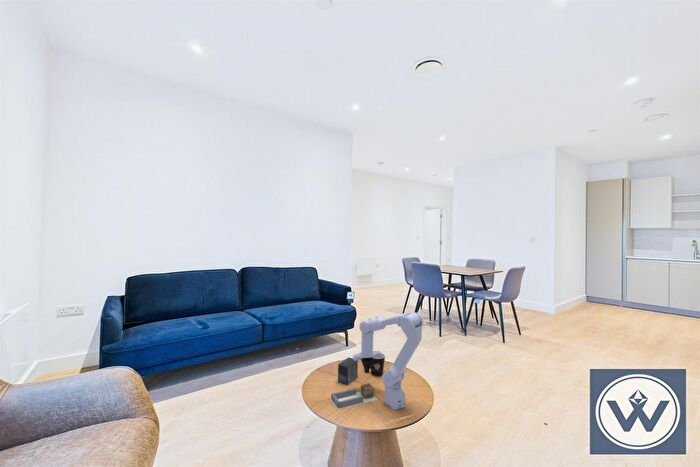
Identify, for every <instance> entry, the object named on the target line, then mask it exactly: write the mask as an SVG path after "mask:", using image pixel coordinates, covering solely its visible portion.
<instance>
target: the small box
mask: <svg viewBox="0 0 700 467" xmlns="http://www.w3.org/2000/svg"><path fill="white" fill-rule="evenodd" d="M358 364H359V359H358V360H356V361H355V360H353V357H347V358H345V359H344V360H342V361H341V362H340V363H338V364H337V382H338V383H340V384H342V385H346V386H349V385H350V384H352V383H353V382H354V381H355V380H356V379H358V377H359V376H358V373H359V371H358V369H359V366H358Z"/></svg>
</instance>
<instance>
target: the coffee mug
mask: <svg viewBox="0 0 700 467" xmlns="http://www.w3.org/2000/svg"><path fill="white" fill-rule="evenodd" d="M372 358H373V359H374V361H373V362H372V364H371V367H370V374H371V375H372V376H375V377H380V376H381V377H382V375H383V374H384V366H385V359H386V355H385V354H384V353H382V352H381V353H380V356H374V357H372Z"/></svg>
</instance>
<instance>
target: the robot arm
mask: <svg viewBox="0 0 700 467" xmlns="http://www.w3.org/2000/svg"><path fill="white" fill-rule="evenodd" d="M391 325H397V326H398V327H400V329H401V330H402V332H403V334H404V335H405V337H406V340H405V342H404V344H403V346H402V348H401V349H400V351H399V353H398V355H397V357H396V359H395V360H394V362H393V364H392V365H390V367H389V368H388V369H387V371H386V372H383V375H381V380H382V383H383V385H384V403H385V404H386V405H387V406H389V407H390V408H391V409H392V410H394V411H395V410H400V409H403V408H405V407H406V393H405V391H404V390H403V389H402V388H403V387H402V382H403V380H404V378H405V372H406V367H407V365H408V364H409V362H410V361H411V359H412V357H413V355H414V353H415V352H416V350H417V348H418V346H419V345H420V343H421V342H422V337H423V336H422V334H423V333H422V330H423V326H424V321H423V318H422V316H421V315H420V313H418V312H411V313H410V312H407V313H406V312H405V313H400V314H397V315H396V314H395V315H393V316H389V317H387V318H384V317H383V316H379V315H377V316H375V317H374V318H372V317H371V318H368V319H367V320H364V321H361V322H360V323H359V330H360V332H361V348H360V350H361V352H358V353H357V354H353V355H352V358H353V360H355V361H356V360H358V361H359V360H360V361H361V363H362V366H363V372H364V373H365V374H369V372H370V371H371V369H370V367H371V364H372V362H373V361H374V359H373V358H372V357H374V356H380V353H382V352H381V351H379V350H374V334H375V332H376V331H381V330H385V329H386V327H387V326H391Z"/></svg>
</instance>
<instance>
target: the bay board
mask: <svg viewBox="0 0 700 467" xmlns="http://www.w3.org/2000/svg"><path fill="white" fill-rule="evenodd" d="M330 396H331V397H330V398H329V400H330V402H332V404H333V405H334V407H335V408H336V410H342V409H347V408H350V407H354V406H358V405H362V404H366V403H369V402H373V401H377V400H378V398H376V397H375V396H374V397H372V398H368V399H364V397H363V396H362V395H361V391H357V388H351V389H346V390H342V391H337V392H332V393H331V394H330Z"/></svg>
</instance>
